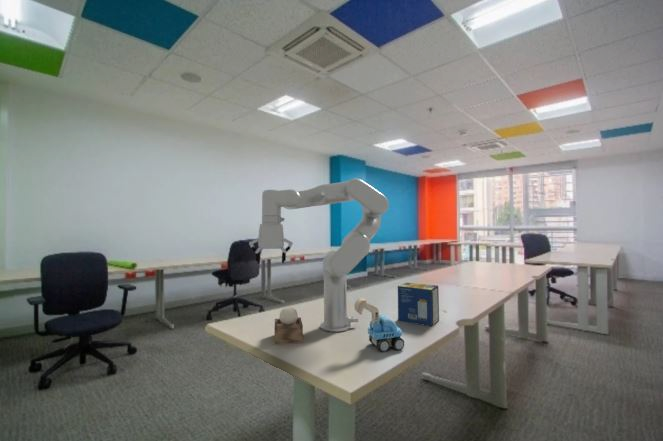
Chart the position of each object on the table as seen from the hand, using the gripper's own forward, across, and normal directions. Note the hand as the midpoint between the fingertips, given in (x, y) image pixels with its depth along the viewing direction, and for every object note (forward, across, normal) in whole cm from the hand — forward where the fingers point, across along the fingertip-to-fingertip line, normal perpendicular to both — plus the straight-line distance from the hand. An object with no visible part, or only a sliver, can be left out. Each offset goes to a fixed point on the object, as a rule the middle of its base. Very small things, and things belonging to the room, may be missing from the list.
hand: (270, 263), depth 123 cm
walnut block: (+28, -6, +10) cm, 30 cm away
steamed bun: (+23, -7, +9) cm, 25 cm away
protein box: (+27, -65, 0) cm, 70 cm away
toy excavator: (+27, -36, +26) cm, 52 cm away
